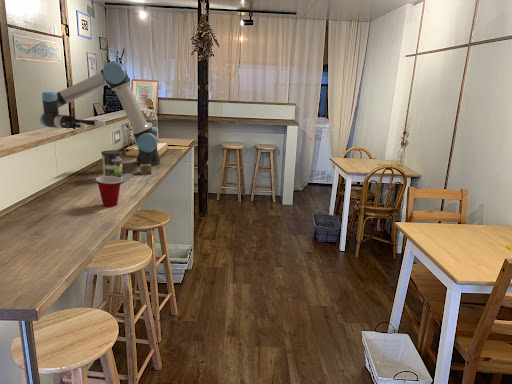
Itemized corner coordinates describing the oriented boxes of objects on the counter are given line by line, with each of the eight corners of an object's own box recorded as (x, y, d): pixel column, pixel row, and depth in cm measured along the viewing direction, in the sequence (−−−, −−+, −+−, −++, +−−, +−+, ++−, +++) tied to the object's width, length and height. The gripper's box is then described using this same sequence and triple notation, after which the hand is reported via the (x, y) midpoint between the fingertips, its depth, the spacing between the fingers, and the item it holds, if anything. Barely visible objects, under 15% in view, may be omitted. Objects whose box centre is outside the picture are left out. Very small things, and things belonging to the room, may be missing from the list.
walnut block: (151, 172, 231) (150, 163, 230) (151, 174, 226) (151, 166, 224) (140, 172, 230) (140, 164, 228) (140, 174, 224) (140, 166, 223)
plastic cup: (118, 209, 166) (117, 182, 162) (93, 208, 166) (91, 180, 163) (127, 201, 176) (126, 175, 173) (103, 200, 176) (101, 174, 173)
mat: (132, 176, 220) (132, 174, 220) (123, 183, 205) (122, 181, 204) (104, 174, 220) (104, 173, 220) (92, 181, 205) (92, 180, 205)
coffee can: (127, 177, 214) (125, 151, 210) (111, 180, 205) (109, 154, 201) (114, 174, 219) (113, 149, 215) (98, 177, 210) (97, 151, 207)
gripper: (82, 126, 229) (112, 129, 222) (47, 131, 206) (78, 134, 199) (81, 113, 227) (111, 116, 220) (45, 116, 204) (77, 120, 197)
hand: (95, 125), depth 209 cm, fingers open, 13 cm apart
